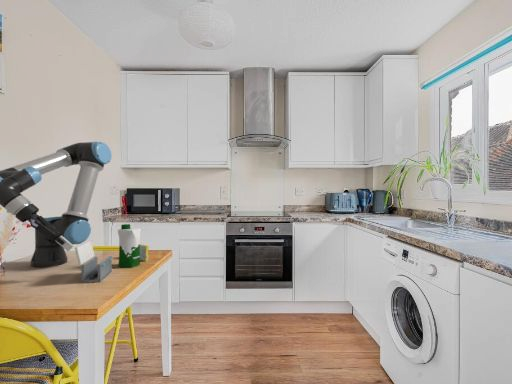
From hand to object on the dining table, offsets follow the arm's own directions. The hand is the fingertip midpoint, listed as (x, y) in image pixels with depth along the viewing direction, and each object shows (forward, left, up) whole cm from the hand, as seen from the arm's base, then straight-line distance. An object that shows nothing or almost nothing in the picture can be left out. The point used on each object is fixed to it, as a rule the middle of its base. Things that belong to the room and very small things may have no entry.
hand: (71, 248), depth 126 cm
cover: (0, +6, -2) cm, 6 cm away
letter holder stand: (0, +10, -12) cm, 16 cm away
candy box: (-32, +20, -13) cm, 40 cm away
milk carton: (-18, +19, -12) cm, 29 cm away
